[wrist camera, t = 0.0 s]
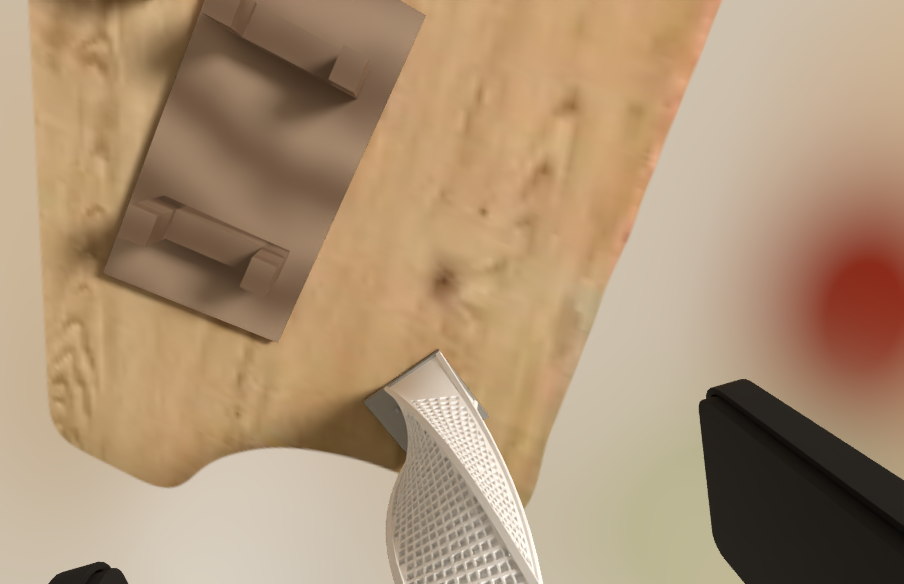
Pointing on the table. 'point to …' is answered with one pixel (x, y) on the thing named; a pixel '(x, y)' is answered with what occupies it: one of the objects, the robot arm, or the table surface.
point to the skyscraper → (450, 486)
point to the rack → (259, 152)
